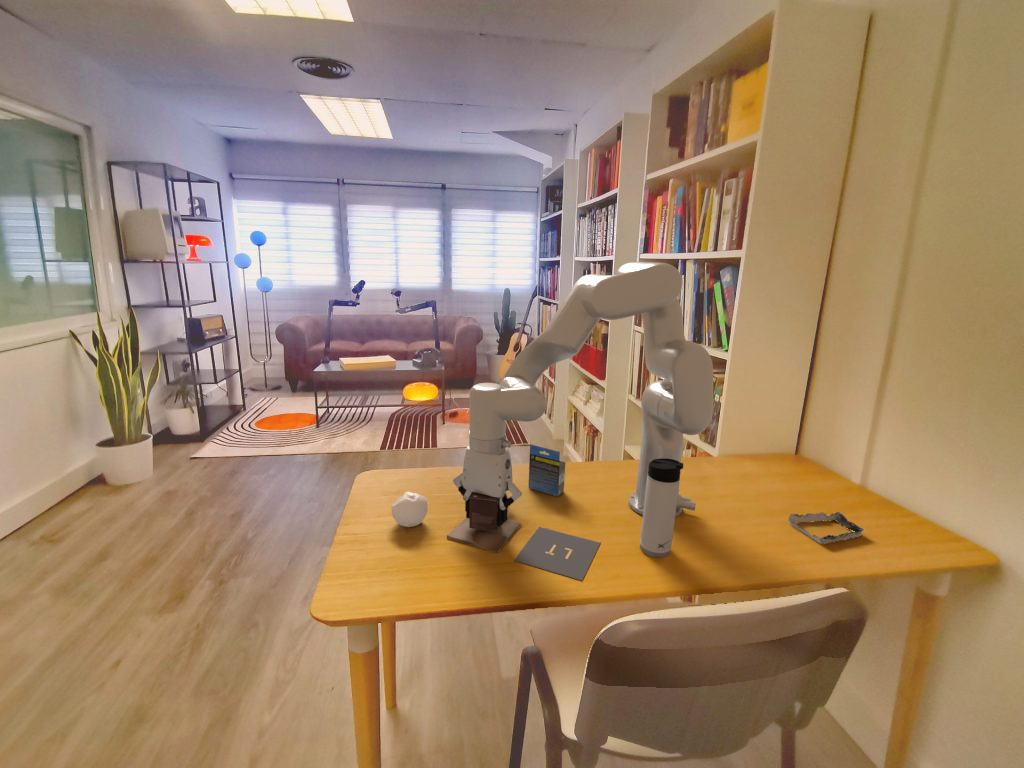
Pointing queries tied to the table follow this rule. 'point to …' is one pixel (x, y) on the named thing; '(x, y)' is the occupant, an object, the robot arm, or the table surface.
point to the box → (483, 512)
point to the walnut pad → (484, 535)
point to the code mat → (558, 553)
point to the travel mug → (660, 507)
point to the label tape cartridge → (546, 471)
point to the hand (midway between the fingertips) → (486, 518)
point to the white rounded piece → (410, 509)
